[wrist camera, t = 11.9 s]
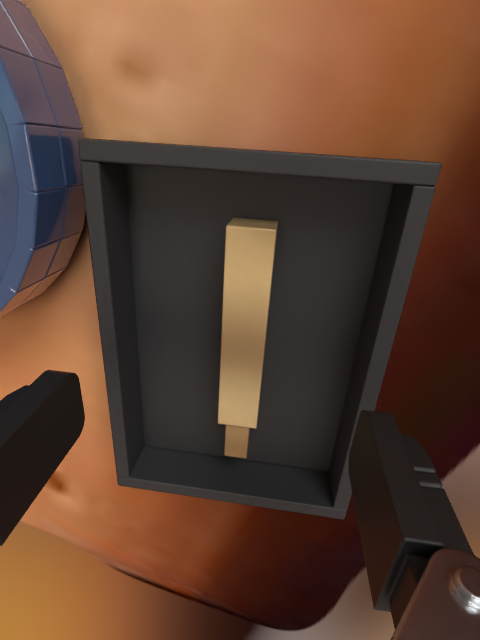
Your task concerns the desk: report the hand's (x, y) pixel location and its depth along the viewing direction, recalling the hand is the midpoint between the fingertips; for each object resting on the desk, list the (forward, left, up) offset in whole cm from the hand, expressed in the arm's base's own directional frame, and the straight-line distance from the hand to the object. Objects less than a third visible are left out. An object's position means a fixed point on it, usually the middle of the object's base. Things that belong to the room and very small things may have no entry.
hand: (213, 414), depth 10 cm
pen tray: (0, 0, -5) cm, 6 cm away
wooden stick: (0, 0, -5) cm, 5 cm away
